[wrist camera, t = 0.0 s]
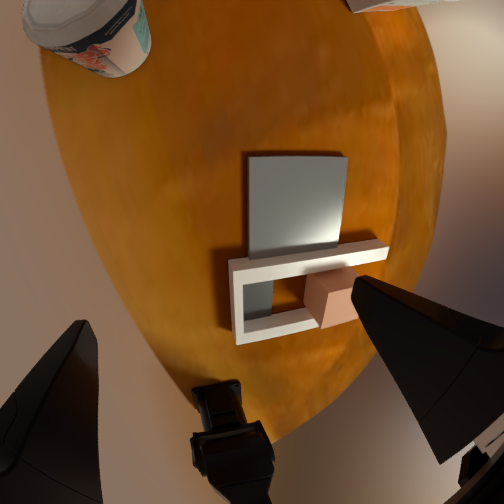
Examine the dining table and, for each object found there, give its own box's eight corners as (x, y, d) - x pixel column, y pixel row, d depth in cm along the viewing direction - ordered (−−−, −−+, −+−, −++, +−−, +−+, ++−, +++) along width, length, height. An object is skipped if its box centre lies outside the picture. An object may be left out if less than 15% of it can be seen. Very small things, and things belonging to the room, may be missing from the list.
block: (337, 294, 31) (357, 318, 27) (302, 302, 30) (320, 328, 26) (344, 261, 29) (367, 283, 25) (307, 267, 28) (328, 292, 24)
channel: (362, 302, 33) (370, 311, 31) (232, 332, 29) (236, 345, 27) (378, 238, 29) (389, 246, 27) (228, 259, 25) (232, 271, 23)
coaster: (334, 245, 27) (337, 247, 27) (247, 257, 25) (249, 260, 25) (344, 156, 23) (348, 157, 22) (247, 156, 21) (249, 157, 20)
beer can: (79, 50, 13) (-1, 3, 3) (132, 11, 12) (103, -74, 2) (110, 90, 15) (39, 67, 5) (164, 51, 15) (157, -20, 5)
